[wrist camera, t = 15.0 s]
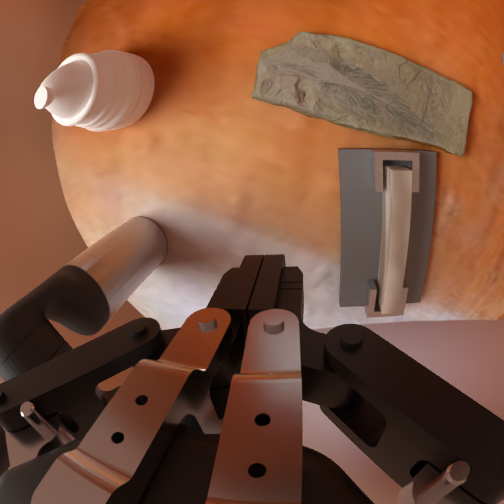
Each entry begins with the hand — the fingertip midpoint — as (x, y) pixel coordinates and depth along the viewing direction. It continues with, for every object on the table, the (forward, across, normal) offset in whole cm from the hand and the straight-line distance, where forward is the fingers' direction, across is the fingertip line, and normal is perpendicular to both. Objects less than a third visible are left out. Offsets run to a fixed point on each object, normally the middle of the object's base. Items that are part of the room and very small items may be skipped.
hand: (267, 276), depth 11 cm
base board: (+29, -13, +10) cm, 33 cm away
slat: (+27, -13, +10) cm, 32 cm away
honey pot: (+29, +25, -16) cm, 42 cm away
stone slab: (+29, -11, -11) cm, 33 cm away
